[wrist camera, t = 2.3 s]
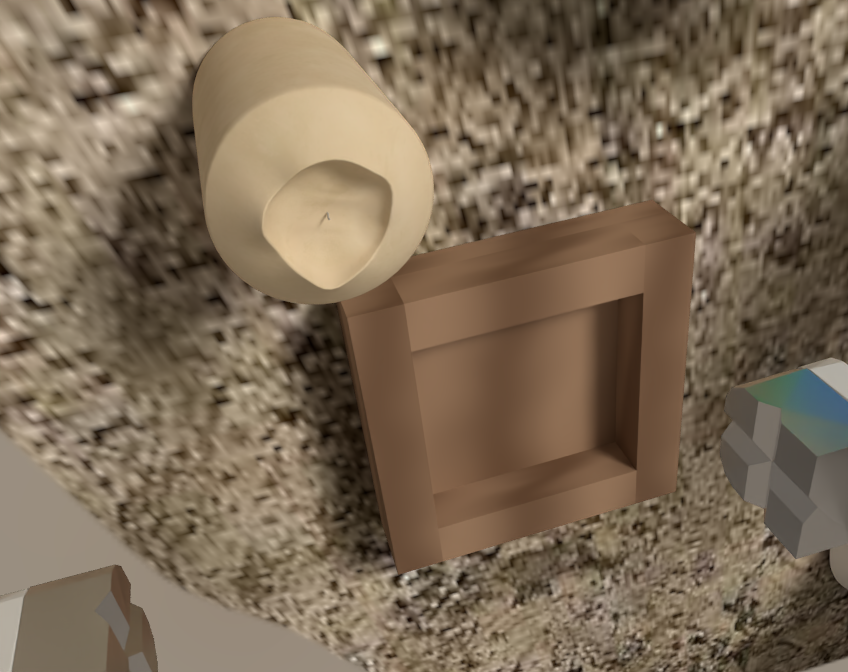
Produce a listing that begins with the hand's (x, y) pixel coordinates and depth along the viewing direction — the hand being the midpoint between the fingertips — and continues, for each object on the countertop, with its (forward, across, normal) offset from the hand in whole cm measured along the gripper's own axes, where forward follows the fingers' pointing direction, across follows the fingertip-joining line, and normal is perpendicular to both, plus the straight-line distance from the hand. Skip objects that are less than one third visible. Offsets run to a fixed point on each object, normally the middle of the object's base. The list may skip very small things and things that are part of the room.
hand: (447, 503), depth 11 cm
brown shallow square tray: (+19, +7, -13) cm, 24 cm away
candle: (+19, 0, 0) cm, 19 cm away
